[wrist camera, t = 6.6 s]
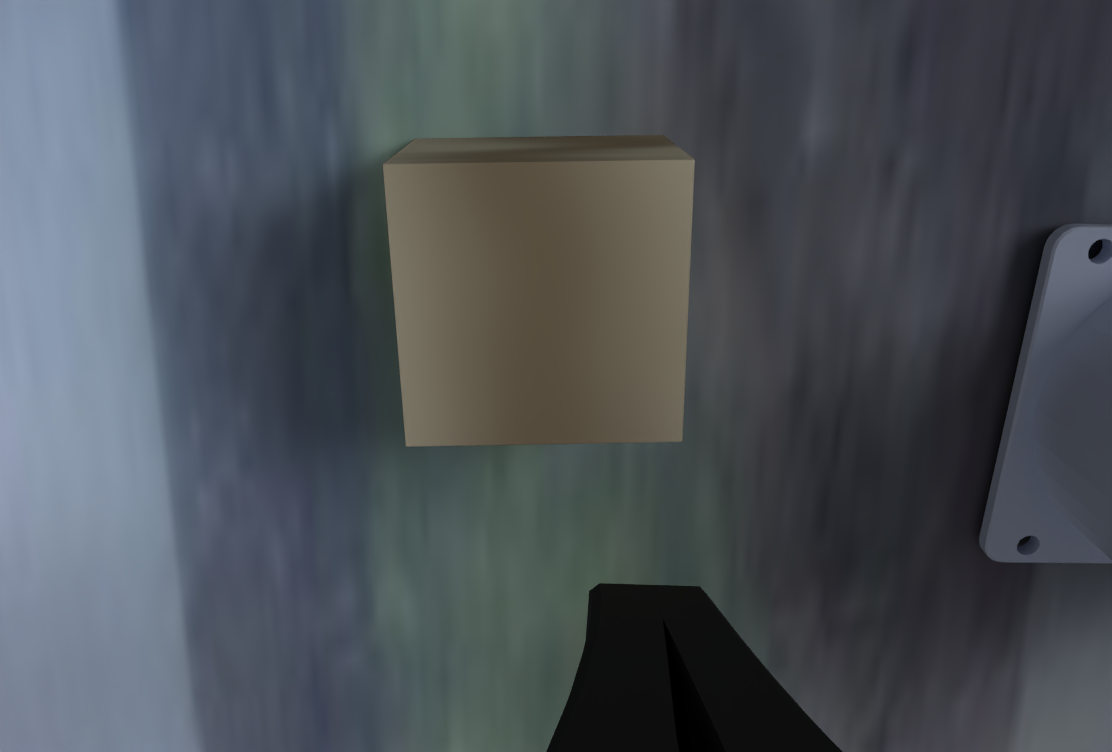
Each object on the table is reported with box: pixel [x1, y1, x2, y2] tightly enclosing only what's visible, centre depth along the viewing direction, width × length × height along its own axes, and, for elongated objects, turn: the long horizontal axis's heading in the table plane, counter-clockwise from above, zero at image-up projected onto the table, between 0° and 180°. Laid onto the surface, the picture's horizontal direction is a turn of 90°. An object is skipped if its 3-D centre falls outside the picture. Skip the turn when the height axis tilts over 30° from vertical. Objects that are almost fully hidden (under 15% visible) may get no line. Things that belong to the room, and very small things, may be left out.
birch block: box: [383, 135, 695, 447], centre depth 17 cm, size 5×5×4 cm
